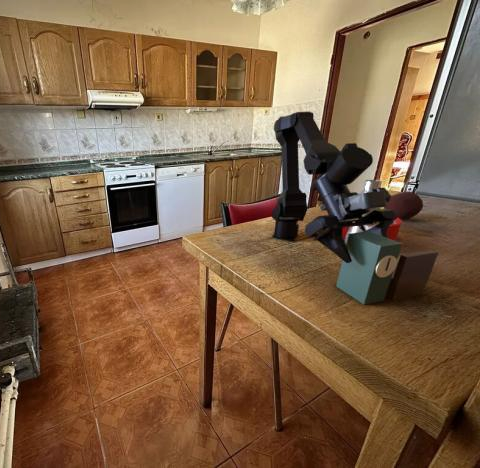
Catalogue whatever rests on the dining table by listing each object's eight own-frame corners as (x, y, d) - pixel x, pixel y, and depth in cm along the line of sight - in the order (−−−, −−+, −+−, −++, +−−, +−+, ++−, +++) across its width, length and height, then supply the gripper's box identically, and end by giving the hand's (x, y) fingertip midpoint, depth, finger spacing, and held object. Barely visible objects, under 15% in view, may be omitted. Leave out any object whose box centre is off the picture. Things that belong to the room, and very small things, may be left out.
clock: (335, 286, 58) (348, 233, 54) (354, 283, 59) (368, 231, 55) (365, 306, 52) (383, 247, 47) (386, 302, 53) (405, 244, 48)
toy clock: (332, 205, 99) (399, 213, 88) (329, 220, 101) (395, 229, 90) (324, 219, 84) (404, 230, 73) (320, 235, 87) (398, 249, 75)
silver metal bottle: (362, 254, 73) (381, 184, 66) (338, 246, 78) (353, 180, 71) (375, 249, 76) (394, 181, 68) (350, 241, 81) (366, 178, 74)
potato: (373, 217, 102) (380, 192, 98) (391, 212, 107) (399, 188, 103) (406, 225, 93) (415, 197, 89) (425, 219, 98) (435, 193, 94)
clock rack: (349, 276, 62) (359, 238, 59) (376, 271, 64) (387, 234, 60) (392, 300, 53) (407, 257, 50) (422, 294, 55) (439, 252, 51)
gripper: (324, 177, 50) (362, 251, 44) (400, 171, 54) (445, 239, 47) (292, 206, 60) (319, 270, 54) (358, 200, 64) (391, 259, 58)
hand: (368, 259), depth 53 cm, fingers open, 9 cm apart
